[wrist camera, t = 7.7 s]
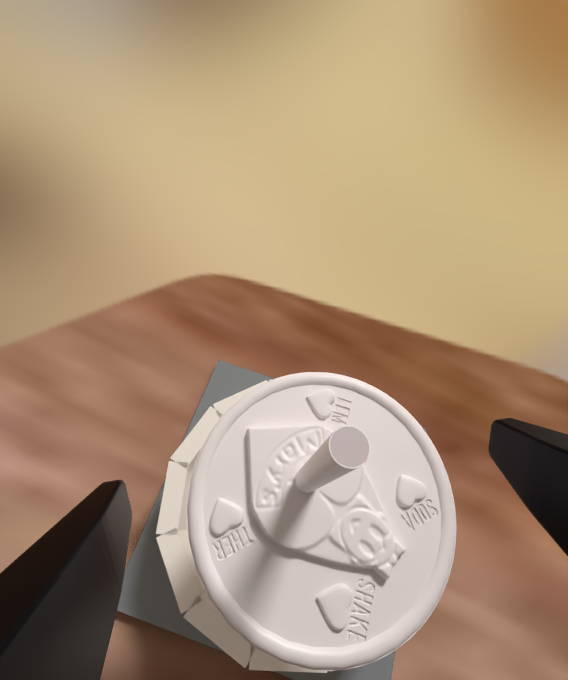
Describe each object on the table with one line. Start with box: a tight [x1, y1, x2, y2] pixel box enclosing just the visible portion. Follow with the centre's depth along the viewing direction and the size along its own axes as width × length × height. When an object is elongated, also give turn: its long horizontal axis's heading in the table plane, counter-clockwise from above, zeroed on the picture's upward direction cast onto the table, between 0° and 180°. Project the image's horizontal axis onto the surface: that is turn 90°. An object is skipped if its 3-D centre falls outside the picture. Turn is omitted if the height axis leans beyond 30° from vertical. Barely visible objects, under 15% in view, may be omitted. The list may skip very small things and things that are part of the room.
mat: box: [117, 360, 426, 680], centre depth 18 cm, size 12×12×1 cm
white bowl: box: [156, 379, 327, 673], centre depth 17 cm, size 11×11×3 cm
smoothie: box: [187, 372, 456, 671], centre depth 11 cm, size 6×6×14 cm
